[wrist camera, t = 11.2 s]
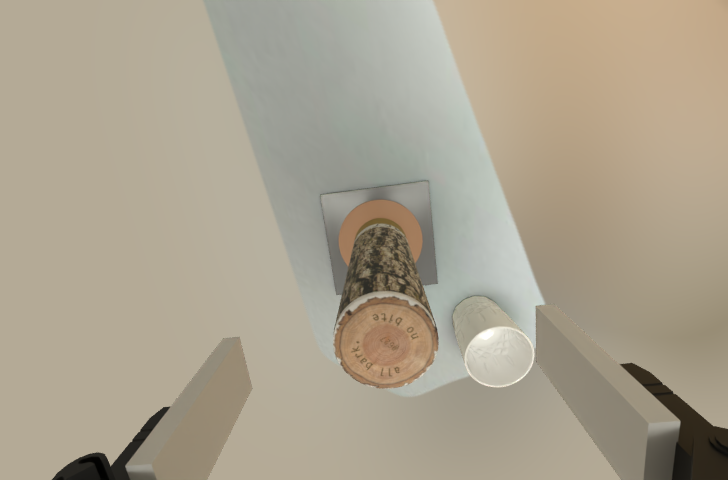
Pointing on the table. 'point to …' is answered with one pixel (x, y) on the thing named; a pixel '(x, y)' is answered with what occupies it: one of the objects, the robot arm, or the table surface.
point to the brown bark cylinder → (384, 311)
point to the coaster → (387, 202)
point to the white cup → (491, 343)
